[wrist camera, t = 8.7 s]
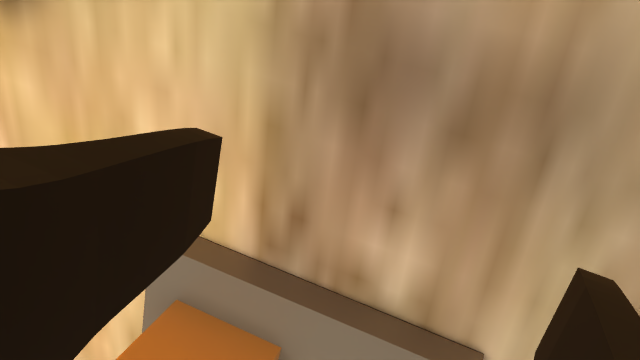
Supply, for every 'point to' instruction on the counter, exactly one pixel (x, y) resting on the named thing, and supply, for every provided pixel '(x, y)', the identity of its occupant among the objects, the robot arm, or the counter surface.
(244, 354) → the solid orange cube
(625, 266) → the counter surface
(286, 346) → the grey flat block
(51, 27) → the counter surface
